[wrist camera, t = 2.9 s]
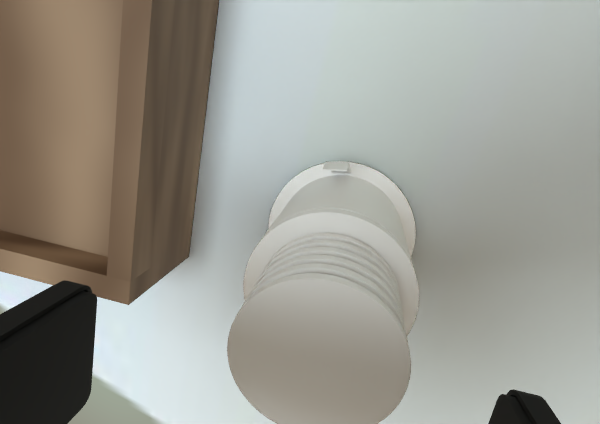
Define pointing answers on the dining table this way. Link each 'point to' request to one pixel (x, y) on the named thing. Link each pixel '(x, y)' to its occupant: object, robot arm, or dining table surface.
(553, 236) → the dining table surface
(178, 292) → the dining table surface
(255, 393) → the downlight
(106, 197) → the walnut stand
